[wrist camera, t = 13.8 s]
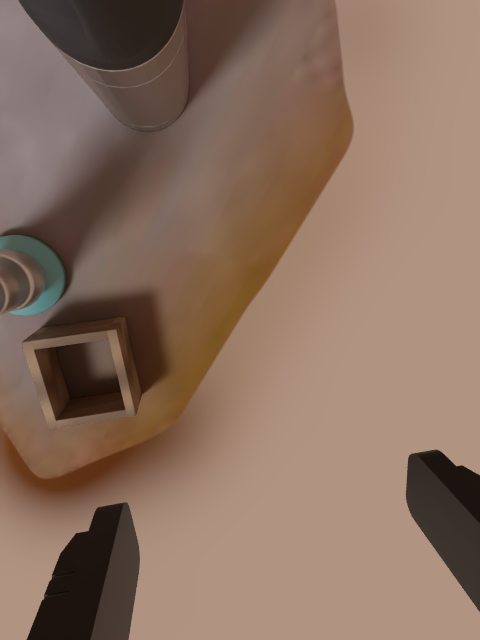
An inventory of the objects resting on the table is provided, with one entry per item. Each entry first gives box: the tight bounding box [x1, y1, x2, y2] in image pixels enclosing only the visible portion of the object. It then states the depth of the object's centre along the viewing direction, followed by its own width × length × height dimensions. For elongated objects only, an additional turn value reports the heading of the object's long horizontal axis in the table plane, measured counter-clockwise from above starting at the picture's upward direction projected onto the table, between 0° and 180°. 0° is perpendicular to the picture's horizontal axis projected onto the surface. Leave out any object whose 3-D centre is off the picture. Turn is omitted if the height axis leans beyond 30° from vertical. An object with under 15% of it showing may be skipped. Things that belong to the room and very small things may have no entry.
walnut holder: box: [21, 317, 142, 430], centre depth 42 cm, size 11×10×5 cm
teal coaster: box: [0, 235, 66, 315], centre depth 40 cm, size 9×9×1 cm
